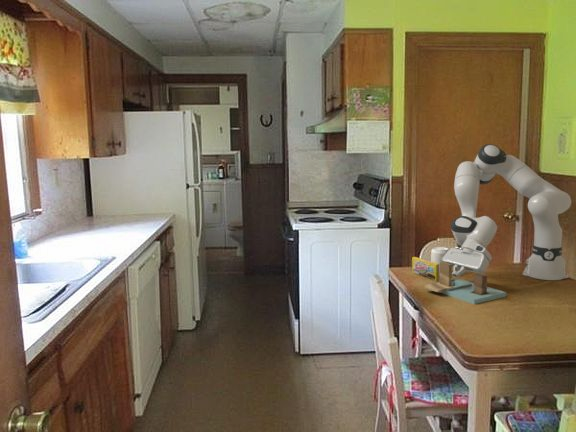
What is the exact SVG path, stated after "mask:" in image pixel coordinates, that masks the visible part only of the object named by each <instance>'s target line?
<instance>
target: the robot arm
mask: <svg viewBox="0 0 576 432" xmlns="http://www.w3.org/2000/svg"><path fill="white" fill-rule="evenodd" d="M456 169H457V170H456V172H455V176H454V183H453V188H454V195H455V197H456V200H457V203H458V206H459V208H460V213H461V215H460V216H459V215H458V216H457V217H455V218H454V219H453V220H452V221H451V223H450V229H451V232H452V234H453V237H454V239H455V241H456V246H453V247H451V248H449V249H448V250H449V251H448V252H447V253H446V254H445V255H444V257H443V258H442V261H443V262H444V263H448V264H452V267H453V268H452V269H453V271H452V275H451V276H452V277H456V278H459V279H460V278H461V275H463V274H465V273H467V271H469V272H472V273H476V274H478V273H481V274H484V273H485V272H486V271H487V269H488V267H489V265H490V262H491V260H492V259H493V257H492V255H491V253H490V252H489V251H488V250H487V247H488V245H489V244H490V243H491V242H492V241H493V239H494V237H495V235H496V233H497V231H498V225H497V223H496V221H495V220H493V218H491V217H490V216H488V215H483V216H480V217H477V208H478V200H479V192H480V191H479V190H480V185H488V184H489V183H491V182H492V181H493V180H494V178H495V175H499V176H501V177H502V178H503V179H504V180H505V181H506V183H508V184H509V185H510V186H512V187H513V189H515V191H517V192H518V193H519V194H520V196H521V195H522V196H523V197H526V198H527V199H528V202H527V209H528V212H529V213H530V214H531V217H532V220H533V228H534V229H533V231H534V232H533V233H534V234H533V235H534V236H533V244H532V248H531V249H532V250H531V252H532V254H531V255H530V256H529V257H528V258H526V260H525V264H526V266H525V268H524V270H523V272H522V276H526V277H530V278H533V279H537V280H542V281H543V280H545V281H561V280H563V279H569V278H570V276H569V274H567V273H566V260H565V258H564V257H563V256H562V255H563V247H562V239H563V237H562V236H563V229H562V227H561V225H560V222H559V215H560V214H563V213H565V212H566V211H568V210H569V209H570V207H571V205H572V199H571V196H570V195H569V194H568V193H567V192H565V191H563V190H561V189H559V188H558V187H556V186H555V185H553V183H551V182H550V181H549V182H548V181H547V180H545V179H543V178H542V177H541V176H539V174H537V173H536V172H535V171H534V170H533V169H532V168H530V167H529V165H527V164H526V163H524V162H523V161H522V160H520V159H519V158H517V157H516V156H514V155H512V154H506V152H505V151H504V150H502V148H501V147H499V146H498V145H495V144H492V143H488V144H484V145H483V146H481V147H480V149H479V150H478V152H477V155H476V157H475V158H474V161H471V160H469V161H468V160H467V161H466V160H465V161H462V162H461V163H459V165H458V166H457V168H456Z"/></svg>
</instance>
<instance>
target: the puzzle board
mask: <svg viewBox="0 0 576 432" xmlns="http://www.w3.org/2000/svg"><path fill="white" fill-rule="evenodd" d="M433 283H438V282H435V281H434V282H431V283H429V284H433ZM451 286H453V287H454V288H449V289H447V290H446V291H441V292H438V293H440V294H442V295H446V296H448V297H451V298H455V299H457V300H459V301H460V300H461V301H463V302H466V303H469V304H472V305H476V304H481V303H484V302H488V301H494V300H498V299H501V298H505V297H507V292H506V291H503V290H499V289H496V288H493V287H489V286H487V294H486V295H477V294H474V281H473V282H472V281H469V280H465V279H462V278H459V279H455V278H451Z"/></svg>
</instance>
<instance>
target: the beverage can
mask: <svg viewBox="0 0 576 432" xmlns="http://www.w3.org/2000/svg"><path fill="white" fill-rule="evenodd" d="M449 250H450V249H449V248H448V247H443V246H437V247H436V246H435V247H432V249H431V251H430V252H431V253H430V261H431V262H434V263H437V264H439V276H440V262H443V261H442V258H443V257H444V255H445V254H446V253H447V252H448V251H449Z"/></svg>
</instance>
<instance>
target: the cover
mask: <svg viewBox="0 0 576 432" xmlns="http://www.w3.org/2000/svg"><path fill="white" fill-rule="evenodd" d="M452 269H453V268H452V264H448V263H444V262H440V275H439V282H438V283H435V282H432V283H433V284H430V283H428V284H424V285H423V286H422V287H423V288H424V289H426V290H430V291H431V292H432V291H433V292H436V293H439V292H441V291H446V290H447V289H449V288H454V287H453V286H451V279H452V276H453V275H452V273H453V271H452Z"/></svg>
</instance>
